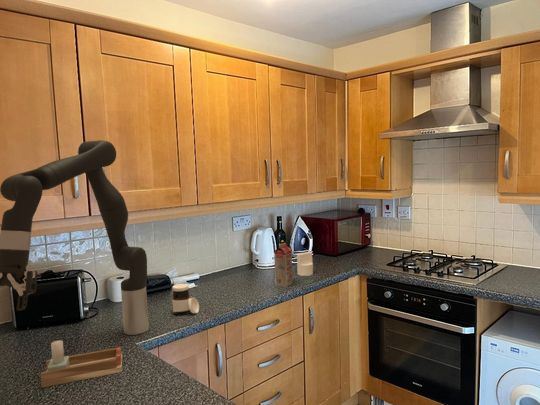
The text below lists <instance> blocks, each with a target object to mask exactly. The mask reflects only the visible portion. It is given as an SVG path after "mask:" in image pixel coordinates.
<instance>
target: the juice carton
mask: <svg viewBox="0 0 540 405" xmlns="http://www.w3.org/2000/svg"><path fill="white" fill-rule="evenodd" d="M292 252H293V250H292V248H291V247H289V246H287V242H283V243H281V244H278V248H276V249H275V250H274V251H273V253H274V254H273V255H274V256H273V257H274V277H275V278H274V279H275V281H274V283H275V284H274V286H279V287H284V288H287V287H289V286H291V285H293V284H294V283H293V254H292Z"/></svg>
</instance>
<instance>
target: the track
mask: <svg viewBox="0 0 540 405" xmlns="http://www.w3.org/2000/svg"><path fill="white" fill-rule="evenodd" d="M68 356H69V363H70V365H69V367H66V368H60V369H55V370H49V371H48V369H47V368H48V365H49V363H50V360H51V359H52V358H51V359H46V361H45V364H46V365H45V366H46V370H44V371H41V372H40V378H41V380H40V381H41V382H40V383H41V388H47V387H53V386H58V385H63V384H68V383H73V382H77V381H83V380H88V379H93V378H99V377H102V376H103V377H104V376H108V375H115V374H118V373H122V372H123V353H122V350H121V346H119V347H113V348H106V349H103V350H97V351H91V352H85V353H79V354H74V355H68Z"/></svg>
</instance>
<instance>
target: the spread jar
mask: <svg viewBox="0 0 540 405" xmlns="http://www.w3.org/2000/svg"><path fill="white" fill-rule="evenodd" d="M190 293H191V292H190V290H189V284H187V283H177V284H175V285H173V286H172V292H171V302H172V312H173V314H174V315H178V316H179V315H186V314H188V313H190V312H191V314H198V313H199V312H200V304H199V300H197V298H196V297H191V295H190Z"/></svg>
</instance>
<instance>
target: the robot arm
mask: <svg viewBox="0 0 540 405" xmlns="http://www.w3.org/2000/svg"><path fill="white" fill-rule="evenodd" d="M116 159H117V149H116V147H115V145H114V144H113V143H112V142H110V141H108V140H101V139H100V140H99V139H98V140H89V141H88V140H87V141H84V142H82V143H80V144H79V147H78V150H77V154H75V155H71V156H68V157H64V158H60V159H56V160H54V161H52V162H48V163H45V164H44V165H41V166H39V167H37V168H34V169H32V170H31V169H30V170H28V171H24V172H21V173H20V172H19V173H17V174H14V175H11V176H8V177H7V178H5V179H4V180H3V181H2V183H1V184H0V194H1V196H2V197H3V198H5V199H6V200H7V201H10V202H14V204H13V206H12V207H11V208H10V209H7V210H5V211H4V212H3V215H2V219H1V225H0V290H1V289H2V288H4V287H5V286H6V287H13V289H14V290H16V292H17V293H18V297H17V303H16V311H24V310H26V308H27V306H28V299H29V298H28V297H29V295H31V294H36V292H37V285H38V283H37V281H38V271H37V270H28V271H27V266H28V265H29V260H30V252H31V244H32V228H33V227H32V226H33V218H34V216H35V214H36V212H37V210H38V207H39V204H40V202H41V199H42V196H43V191H48V190H52V189H54V188H56V187H57V186H60V185H62V184H64V183H66V182H68V181H70V180H72V179H74V178H77V177H79V176H80V175H83V174H85V175H86V177H87V180H88V183H90V187H91V190H92V192H93V196H94V197H95V200H96V204H97V207H98V210H99V213H100V216H101V219H102V221H103V224H104V227H105V230H106V233H107V237H108V240H109V245H110V250H111V253H112V254H111V255H112V259H113V262H114V264H115V266H116V268H117V269H118V270H120V271H126V272H127V271H129V277H128V278H126V279H123V280H122V281H121V282H120V293H121V294H120V295H121V308H122V323H123V333H124V335H128V336H129V335H130V336H133V335H134V336H136V335H141V334H143V333H145V332H147V331H148V330H149V329H150V327H149V312H148V297H147V279H148V258H147V253H146V252H147V251H146V250H145V249H144V248H142V247H139V246H129V245H128V241H127V239H126V228H127V224H128V221H129V212H128V208H127V205H126V201H125V198H124V196H123V195H122V193H121V192H120V191H119V190H118V189H117V188H116V187H115V185H113V184H112V182H111V181H110V180H109V178H108V177H107V175H106V174H105V171H104V168H105V167H110V166H112V165H113V164H114V162H115V161H116Z"/></svg>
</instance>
